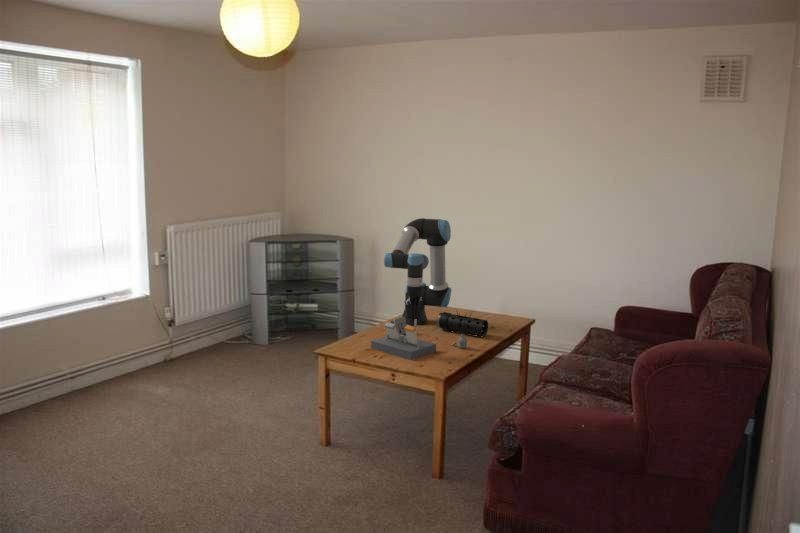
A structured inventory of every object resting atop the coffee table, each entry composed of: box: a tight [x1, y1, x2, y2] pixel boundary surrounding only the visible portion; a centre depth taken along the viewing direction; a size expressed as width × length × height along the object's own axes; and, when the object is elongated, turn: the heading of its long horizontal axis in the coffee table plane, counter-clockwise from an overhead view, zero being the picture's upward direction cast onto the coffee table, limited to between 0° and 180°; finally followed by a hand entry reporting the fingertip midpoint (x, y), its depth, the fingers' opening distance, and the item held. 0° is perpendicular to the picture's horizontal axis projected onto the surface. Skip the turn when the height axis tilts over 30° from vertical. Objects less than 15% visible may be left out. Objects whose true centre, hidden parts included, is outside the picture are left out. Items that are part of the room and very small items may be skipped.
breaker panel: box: [370, 331, 437, 361], centre depth 336 cm, size 20×26×7 cm
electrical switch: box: [390, 316, 408, 335], centre depth 365 cm, size 9×5×9 cm, turn 141°
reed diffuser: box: [451, 311, 472, 349], centre depth 342 cm, size 10×7×20 cm
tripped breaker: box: [404, 325, 418, 345], centre depth 330 cm, size 2×6×10 cm, turn 49°
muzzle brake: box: [436, 311, 489, 338], centre depth 371 cm, size 10×28×10 cm, turn 58°
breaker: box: [383, 322, 399, 340], centre depth 337 cm, size 2×6×10 cm
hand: (413, 331), depth 330 cm, fingers closed
